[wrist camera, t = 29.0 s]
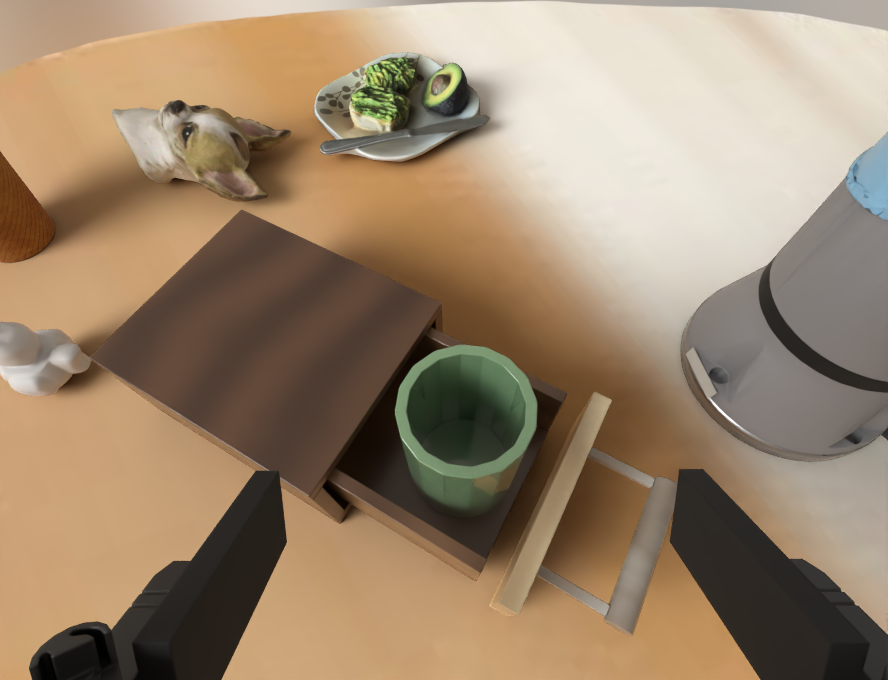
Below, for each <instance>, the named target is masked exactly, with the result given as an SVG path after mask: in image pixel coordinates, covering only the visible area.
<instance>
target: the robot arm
mask: <svg viewBox="0 0 888 680" xmlns="http://www.w3.org/2000/svg"><path fill="white" fill-rule="evenodd" d="M681 360H682V366H683V370H684V373H685V376H686V379H687V381H688V384H689V386H690V388H691V389H692V391H693V393H694V395H695V396H696V398H697V399H698V401H699V402H700V404H701V405H702V406H703V408H704V409H705V410H706V411H707V412H708V413H709V414H710V416H711V417H712V418H713V419H714V420H715V421H716V422H718V423H719V424H720V425H721V426H722V427H723V428H724V429H726V430H727V431H728V432H730V433H731V434H732V435H734V436H735V437H737V438H738V439H740V440H742V441H743V442H745V443H747V444H748V445H750V446H752V447H754V448H756V449H759V450H761V451H763V452H766V453H769V454H772V455H775V456H778V457H782V458H786V459H791V460H797V461H824V460H831V459H835V458H838V457H841V456H844V455H847V454H849V453H851V452H854V451H856V450H858V449H861V448H863V447H864V446H866V445H868V444H869V443H871V442H872V441H874V440H875V439H876V438H877V437H879V436H880V435H882V436H883V437H885V438H886V439H887V440H888V132H887V133H886V134H885V135H884V136H883V137H882V138H881V139H880V140H879V141H878V142H877V143H876V144H875V145H874V146H873V147H871V148H869V149H868V150H866V151H865V152H864V153H862V154H861V155H860V156H859V157H858V158H857V159H856V160H855V161H854V162H853V164H852V165H851V166H850V168H849V172H848V174H847V176H846V178H845V179H844V180H843V181H842V182H841V183H840V184H839V186H838V187H837V188H836V189H835V190H834V191H833V192H832V193H831V195H830V196H829V197H828V198H827V199H826V200H825V201H824V203H823V204H822V205H821V206H820V207H819V208H818V209H817V210H816V212H815V213H814V214H813V215H812V216H811V217H810V218H809V219H808V221H807V222H806V223H805V224H804V225H803V226H802V227H801V228H800V229H799V231H798V232H797V233H796V234H795V235H794V236H793V237H792V238H791V239H790V240H789V241H788V243H787V244H786V245H785V246H784V247H783V248H782V249H781V250H780V251H779V253H778V254H777V255H776V256H775V257H774V258H773V260H772V261H771V262H770V263H769V264H768V265H767V266H765V267H763V268H761V269H759V270H757V271H755V272H753V273H751V274H749V275H747V276H745V277H743V278H741V279H739V280H737V281H735V282H734V283H732V284H730V285H728V286H726V287H724V288H722V289H720V290H719V291H717V292H716V293H714V294H713V295H712V296H710V297H709V298H708V299H706V300H705V301H704V302H703V303H702V304H701V306H700V307H699V308H698V309H697V310H696V312H695V313H694V314H693V316H692V317H691V318H690V320H689V321H688V323H687V325H686V327H685V329H684V333H683V336H682V341H681ZM286 543H287V539H286V530H285V520H284V511H283V502H282V493H281V483H280V474H279V471H255V473H254V474H253V476H252V477H251V478H250V480H249V481H248V482H247V484H246V485H245V487H244V488H243V489H242V491H241V492H240V494H239V495H238V496H237V498H236V499H235V500H234V502H233V503H232V505H231V506H230V507H229V509H228V510H227V512H226V513H225V514H224V516H223V517H222V519H221V520H220V521H219V523H218V524H217V525H216V527H215V528H214V530H213V531H212V532H211V534H210V535H209V537H208V538H207V539H206V541H205V542H204V543H203V545H202V546H201V548H200V549H199V550H198V552H197V553H196V555H195V556H194V557H193V559H192V560H191V561H173V562H172V563H170V564H169V565H168V566H166V567H165V568H164V569H162V570H161V571H160V572H158V573H157V574H156V575H155V576H154V577H153V578H152V580H151V581H150V582H149V583H148V585H147V586H146V587H145V588H144V590H143V591H142V594H140V595H139V596H138V597H137V598H136V600H135V601H134V602H133V604H132V607H129V609H128V610H127V611H126V612H125V614H124V615H123V616H122V617H121V619H120V620H119V621H118V623H117V624H116V625H115V626H114V628H113V629H112V630H111V629H110V628H109V627H108V625H107V624H104V623H101V622H87V623H82V624H79V625H76V626H73V627H70V628H68V629H66V630H64V631H62V632H60V633H58V634H57V635H55V636H53V637H52V638H51V639H50V640H48V641H47V642H46V643H45V644H43V645H42V646H41V647H40V648H39V650H38V651H37V652H36V653H35V655H34V656H33V657H32V660H31V663H30V666H29V670H30V673H31V677H32V680H221V679H222V677H223V675H224V673H225V671H226V669H227V667H228V665H229V663H230V660H231V658H232V656H233V654H234V652H235V650H236V648H237V646H238V644H239V642H240V639H241V637H242V635H243V633H244V631H245V629H246V627H247V625H248V623H249V621H250V618H251V616H252V614H253V612H254V610H255V608H256V606H257V604H258V602H259V600H260V598H261V595H262V593H263V591H264V589H265V587H266V585H267V583H268V581H269V579H270V577H271V574H272V572H273V570H274V568H275V566H276V564H277V562H278V560H279V558H280V556H281V553H282V551H283V549H284V547H285V545H286ZM670 543H671V544H672V546H673V547H674V549H675V550H676V552H677V553H678V555H679V556H680V558H681V559H682V561H683V562H684V564H685V565H686V567H687V568H688V570H689V571H690V573H691V575H692V576H693V578H694V579H695V581H696V582H697V584H698V585H699V587H700V588H701V590H702V591H703V593H704V594H705V596H706V597H707V599H708V600H709V602H710V603H711V605H712V606H713V608H714V609H715V611H716V613H717V614H718V616H719V617H720V619H721V620H722V622H723V623H724V625H725V626H726V628H727V629H728V631H729V632H730V634H731V635H732V637H733V638H734V640H735V641H736V643H737V644H738V646H739V647H740V649H741V651H742V652H743V654H744V655H745V657H746V658H747V660H748V661H749V663H750V664H751V666H752V667H753V669H754V670H755V672H756V673H757V675H758V676H759V678H760V679H761V680H888V635H887V634H886V633H885V632H884V631H883V630H882V629H881V628H880V627H879V626H878V625H877V624H876V623H875V622H874V621H873V620H872V619H871V618H870V617H869V616H868V615H867V614H866V613H865V612H864V611H863V610H862V609H861V608H860V607H859V606H856V605H855V603H854V601H853V600H852V599H851V598H850V597H849V596H848V595H847V594H846V593H845V592H841V589H840V588H839V587H838V586H837V585H836V584H835V583H834V582H833V581H832V580H831V579H830V578H829V577H828V576H827V575H826V574H825V573H824V572H822V571H821V570H819V569H818V568H816V567H814V566H813V565H811V564H810V563H808V562H806V561H805V560H803V559H789V558H788V557H787V556H786V555H785V554H784V553H783V552H782V551H781V550H780V549H779V548H778V547H777V546H776V545H775V544H774V543H773V542H772V541H771V540H770V538H769V537H768V536H767V535H766V534H765V533H764V532H763V531H762V530H761V529H760V528H759V527H758V526H757V525H756V524H755V523H754V522H753V521H752V520H751V519H750V518H749V517H748V516H747V515H746V514H745V513H744V511H743V510H742V509H741V508H740V507H739V506H738V505H737V504H736V503H735V502H734V501H733V500H732V499H731V498H730V497H729V496H728V495H727V494H726V493H725V492H724V491H723V490H722V489H721V488H720V487H719V485H718V484H717V483H716V482H715V481H714V480H713V479H712V478H711V477H710V476H709V475H708V474H707V473H706V472H705V471H704V470H703V469H679V476H678V483H677V491H676V499H675V506H674V514H673V521H672V529H671V536H670Z"/></svg>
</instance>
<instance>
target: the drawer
mask: <svg viewBox="0 0 888 680" xmlns="http://www.w3.org/2000/svg"><path fill="white" fill-rule="evenodd" d="M456 345H467V344H465V343H463V342H461V341H459V340H457V339H455V338H453V337H451V336H448V335H446V334H444V333H442V332H440V331H438V330H436V329H434V328H432V327H430V328H429V329H428V331H427V332H426V334H425V335H424V337H423V338H422V340H421V341H420V343H419V344H418V346H417V347H416V348H415V350H414V351H413V353H412V354H411V356H410V357H409V359H408V360H407V362H406V363H405V365H404V366H403V368H402V369H401V371H400V372H399V374H398V375H397V377H396V378H395V380H394V381H393V382H392V384H391V385H390V387H389V388H388V390H387V391H386V393H385V394H384V396H383V397H382V399H381V400H380V402H379V403H378V405H377V406H376V408H375V409H374V411H373V412H372V414H371V415H370V416H369V418H368V419H367V421H366V422H365V424H364V425H363V427H362V428H361V430H360V431H359V433H358V434H357V436H356V437H355V439H354V440H353V442H352V443H351V445H350V446H349V448H348V449H347V450H346V452H345V453H344V455H343V456H342V458H341V459H340V461H339V462H338V464H337V465H336V467H335V468H334V470H333V471H332V473H331V474H330V476H329V477H328V479H327V480H326V481H325V483H324V484H323V486H322V487H324V488H325V489H327V490H329V491H330V492H332V493H334V494H335V495H337V496H338V497H340V498H342V499H343V500H345V501H346V502H348V503H350V504H351V505H353V506H355V507H356V508H358V509H359V510H361V511H363V512H364V513H366V514H367V515H369V516H371V517H372V518H374V519H376V520H377V521H379V522H380V523H382V524H384V525H385V526H387V527H388V528H390V529H392V530H393V531H395V532H397V533H398V534H400V535H401V536H403V537H405V538H406V539H408V540H410V541H411V542H413V543H414V544H416V545H418V546H419V547H421V548H422V549H424V550H426V551H427V552H429V553H431V554H432V555H434V556H435V557H437V558H439V559H440V560H442V561H443V562H445V563H447V564H448V565H450V566H452V567H453V568H455V569H456V570H458V571H460V572H461V573H463V574H464V575H466V576H468V577H469V578H471V579H473V580H474V581H476V580H477V578H478V577H479V575H480V574H481V572H482V570H483V568H484V566H485V564H486V561H487V557H488V555H489V553H490V551H491V549H492V547H493V545H494V543H495V541H496V539H497V537H498V534H499V532H500V530H501V528H502V526H503V524H504V522H505V520H506V518H507V516H508V514H509V512H510V510H511V508H512V505H513V503H514V501H515V499H516V497H517V495H518V493H519V491H520V489H521V487H522V485H523V483H524V481H525V479H526V477H527V474H528V472H529V470H530V468H531V466H532V464H533V462H534V460H535V458H536V456H537V454H538V452H539V450H540V448H541V445H542V443H543V441H544V439H545V437H546V435H547V433H548V431H549V429H550V427H551V425H552V423H553V421H554V419H555V417H556V415H557V413H558V411H559V410H560V408H561V406H562V404H563V402H564V400H565V398H566V396H567V393H566V392H564V391H562V390H560V389H558V388H556V387H554V386H552V385H550V384H548V383H546V382H543V381H541V380H539V379H537V378H535V377H533V376H531V375H529V374H527V373H525V372H523V371H522V372H523V373H524V374H525V375H526V376H527V378H528V379H529V382H530V384H531V387H532V390H533V392H534V395H535V397H536V400H537V428H536V431H535V433H534V435H533V438H532V440H531V442H530V444H529V447H528V449H527V451H526V453H525V456H524V458H523V460H522V462H521V465H520V467H519V469H518V471H517V474H516V476H515V478H514V480H513V482H512V484H511V486H510V488H509V491H508V492H507V494H506V496H505V497H504V499H503V500H502V501H501V502H500V503H499V504H498V505H497V506H496V507H495V508H494V509H492V510H491V511H489V512H488V513H486V514H484V515H481V516H478V517H475V518H469V519H456V518H451V517H448V516H445V515H442V514H440V513H438V512H436V511H435V510H433V509H432V508H431V507H429V506H428V505H427V504H426V503H425V502H424V501H423V499H422V498H421V497H420V495H419V494H418V492H417V490H416V488H415V486H414V484H413V481H412V477H411V473H410V470H409V466H408V462H407V459H406V455H405V451H404V448H403V444H402V441H401V437H400V433H399V429H398V424H397V420H396V416H395V407H396V402H397V397H398V391H399V387H400V385H401V383H402V382H403V380H404V379H405V377H406V376H407V374H408V373H409V371H410V370H411V368H412V367H413V366H414V365H415V364H416V363H418V362H419V361H421V360H422V359H424V358H425V357H427V356H428V355H429V354H431V353H432V352H434V351H436V350H440V349H444V348H448V347H452V346H456ZM611 401H612V400H611V399H609V398H607V397H605V396H603V395H601V394H599V393H596V392H593V394H592V396H591V397H590V399H589V400H588V402H587V404H586V405H585V407H584V408H583V410H582V412H581V413H580V415H579V416H578V418H577V420H576V421H575V423H574V424H573V426H572V428H571V430H570V432H569V434H568V436H567V438H566V440H565V443H564V445H563V447H562V449H561V451H560V453H559V456H558V458H557V460H556V462H555V464H554V466H553V469H552V471H551V473H550V475H549V477H548V479H547V482H546V484H545V486H544V488H543V490H542V492H541V495H540V497H539V499H538V501H537V503H536V505H535V508H534V510H533V512H532V514H531V516H530V518H529V521H528V523H527V525H526V527H525V529H524V531H523V534H522V536H521V538H520V540H519V542H518V544H517V547H516V549H515V551H514V553H513V555H512V557H511V560H510V562H509V564H508V566H507V568H506V570H505V573H504V575H503V577H502V579H501V581H500V583H499V586H498V588H497V590H496V592H495V594H494V596H493V599H492V601H491V603H490V607H491V608H493V609H495V610H496V611H498V612H499V613H501V614H503V615H504V616H514V615H519V614H520V612H521V610H522V607H523V605H524V603H525V601H526V598H527V596H528V594H529V591H530V589H531V587H532V584H533V582H534V580H535V577H536V576H537V577H539V578H540V579H542V580H544V581H546V582H547V583H549V584H551V585H552V586H554V587H556V588H557V589H559V590H561V591H562V592H564V593H566V594H567V595H569V596H571V597H572V598H574V599H576V600H577V601H579V602H581V603H583V604H584V605H586V606H588V607H589V608H591V609H593V610H594V611H596V612H598V613H599V614H601V615H603V616H605V617H604V621H605V622H606V623H607V624H608V625H610V626H612V627H613V628H615V629H617V630H618V631H620V632H622V633H624V634H626V635H629V636H633V633H634V630H635V627H636V624H637V621H638V618H639V615H640V612H641V609H642V606H643V603H644V600H645V597H646V594H647V591H648V588H649V585H650V581H651V578H652V575H653V572H654V569H655V566H656V563H657V560H658V557H659V554H660V551H661V548H662V545H663V542H664V539H665V536H666V533H667V530H668V527H669V524H670V520H671V517H672V514H673V511H674V506H675V499H676V491H677V483H676V482H674V481H672V480H670V479H668V478H665V477H655V478H653V477H651V476H649V475H647V474H645V473H643V472H641V471H639V470H637V469H635V468H633V467H631V466H629V465H627V464H625V463H623V462H621V461H619V460H617V459H615V458H613V457H611V456H609V455H607V454H605V453H604V452H602V451H600V450H598V449H596V448H594V447H592V445H593V443H594V441H595V438H596V436H597V434H598V431H599V429H600V427H601V424H602V422H603V420H604V417H605V415H606V413H607V411H608V408H609V406H610V404H611ZM587 457H588V458H590V459H592V460H594V461H596V462H598V463H600V464H602V465H604V466H606V467H608V468H609V469H611V470H613V471H615V472H617V473H619V474H621V475H623V476H625V477H627V478H629V479H631V480H633V481H635V482H637V483H639V484H641V485H643V486H645V487H646V488H648V489H650V491H649V494H648V496H647V499H646V502H645V505H644V508H643V510H642V513H641V516H640V519H639V522H638V524H637V527H636V530H635V533H634V536H633V538H632V541H631V544H630V547H629V549H628V552H627V555H626V558H625V561H624V563H623V566H622V569H621V572H620V575H619V577H618V580H617V583H616V586H615V589H614V591H613V594H612V597H611V600H610V603H609V604H607V603H605V602H603V601H602V600H600V599H598V598H597V597H595V596H593V595H592V594H590V593H588V592H586V591H585V590H583V589H581V588H580V587H578V586H576V585H575V584H573V583H571V582H569V581H568V580H566V579H564V578H563V577H561V576H559V575H557V574H556V573H554V572H552V571H551V570H549V569H547V568H546V567H544V566H542V565H541V563H542V561H543V559H544V557H545V554H546V552H547V550H548V547H549V545H550V543H551V540H552V538H553V536H554V533H555V531H556V529H557V526H558V524H559V522H560V519H561V517H562V515H563V512H564V510H565V508H566V506H567V503H568V501H569V499H570V496H571V494H572V492H573V489H574V487H575V485H576V482H577V480H578V478H579V475H580V473H581V471H582V468H583V466H584V464H585V462H586V459H587Z"/></svg>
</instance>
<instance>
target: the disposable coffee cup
mask: <svg viewBox="0 0 888 680" xmlns="http://www.w3.org/2000/svg"><path fill="white" fill-rule="evenodd" d="M54 233H55V224H54V222H53V220H52V219H51V218H50V217H49V215H48V214H47V212H46V211H45V210H44V209H43V207H42V206H41V204H40V203H39V202H38V201H37V199H36V198H35V197H34V195H33V194H32V193H31V191H30V190H29V189H28V187H27V186H26V185H25V183H24V182H23V181H22V179H21V178H20V177H19V176H18V174H17V173H16V171H15V170H14V169H13V168H12V166H11V165H10V164H9V162H8V161H7V160H6V158H5V157H4V156H3V154H2V153H1V152H0V262H5V263H10V262H16V261H21V260H24V259H27V258H29V257H31V256H33V255H35V254H37V253H38V252H40V251H41V250H42V249H43V248H45V247H46V246H47V245H48V243H49V242H50V241H51V239H52V238H53V236H54Z"/></svg>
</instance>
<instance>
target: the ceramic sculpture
mask: <svg viewBox="0 0 888 680" xmlns="http://www.w3.org/2000/svg"><path fill="white" fill-rule="evenodd" d="M112 115H113V118H114V120H115V122H116V124H117V126H118V129H119V131H120V133H121V135H122V136H123V138H124V139H125V141H126V142H127V144H128V145H129V147H130V149H131V151H132V152H133V154H134V156H135V158H136V160H137V162H138V164H139V166H140V168H141V169H142V170H143V171H144V173H145V174H146V175H147V176H148V177H149V178H150V179H151V180H153V181H155V182H157V183H168V182H170V181H171V180H172V179H173V178H180V179H184V180H190V181H195V182H198V183H200V184H201V185H202V186H204V187H205V188H207V189H208V190H211V191H213V192H214V193H216V194H218V195H219V196H221V197H224V198H226V199H229V200H232V201H252V200H257V199H262V198H266V197H267V196H268V194H267V193H266V192H264V191H263V190H262V189H261V187H260V186H259V184H258V183H257V182H256V180H255V179H254V178H253V177H252V176H251V175H250V174H249V173H248V172H247V171H245V169H246V168H247V166H248V165H249V155H250V153H249V151H266V150H268V149H270V148H272V147H274V146H275V145H277V144H279V143H280V142H281V141H283V140H284V139H286V138H287V137H289V136H290V134H291V131H290V130H274V129H272V128H270V127H268V126H265V125H261V124H260V123H259V122H255V121H253V120H250V119H247V120H246V119H243V118H240V117H236V118H233V117H232V116H231V115H230V114H228V113H227V112H225V111H224V110H222V109H219V108H212V109H211V108H209V107H208V106H206V105H199V106H188V105H187V104H186V103H185V102H183V101H180V100H177V101H171V102H169V103H168V104H167V105H164V106H163V107H162V108H161V110H160V111H158V110H154V109H146V108H135V109H127V110H118V109H115V110H112Z"/></svg>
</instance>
